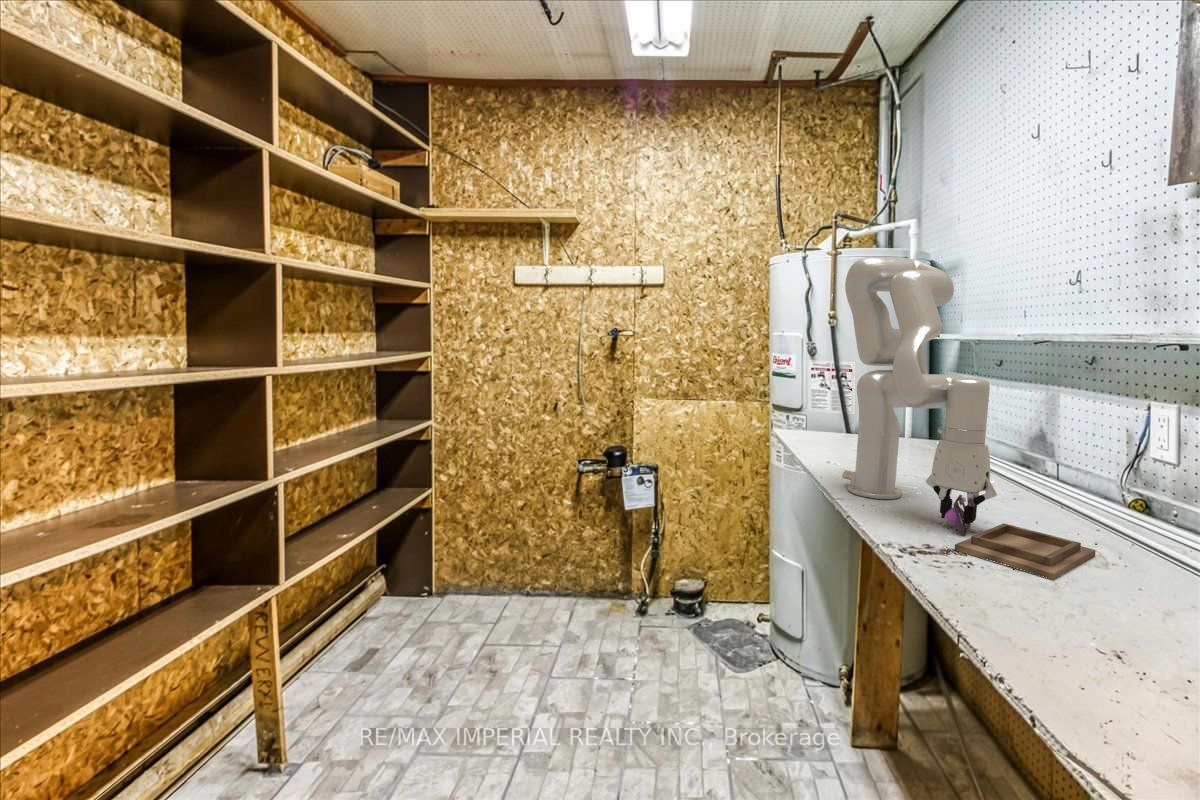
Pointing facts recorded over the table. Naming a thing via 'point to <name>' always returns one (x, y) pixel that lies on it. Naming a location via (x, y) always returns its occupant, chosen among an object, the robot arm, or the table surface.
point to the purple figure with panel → (957, 515)
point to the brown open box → (1026, 550)
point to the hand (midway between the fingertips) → (957, 519)
